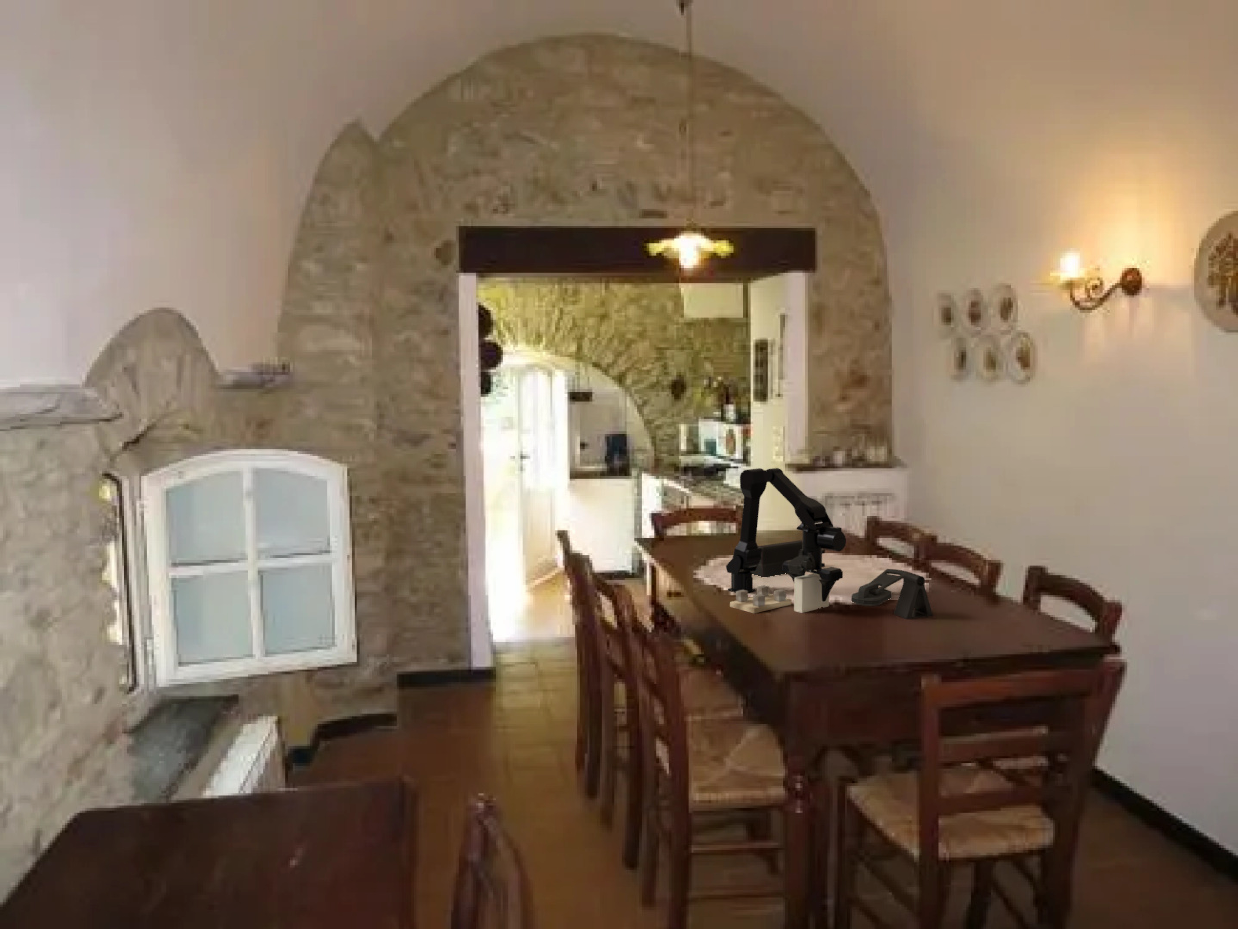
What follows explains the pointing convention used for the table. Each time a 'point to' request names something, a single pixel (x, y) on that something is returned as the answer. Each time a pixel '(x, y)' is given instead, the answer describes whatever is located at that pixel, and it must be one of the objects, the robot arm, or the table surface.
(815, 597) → the cabinet door panel
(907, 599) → the black pivot stand
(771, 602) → the hinge clip plate
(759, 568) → the barrier
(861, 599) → the zipper pull
